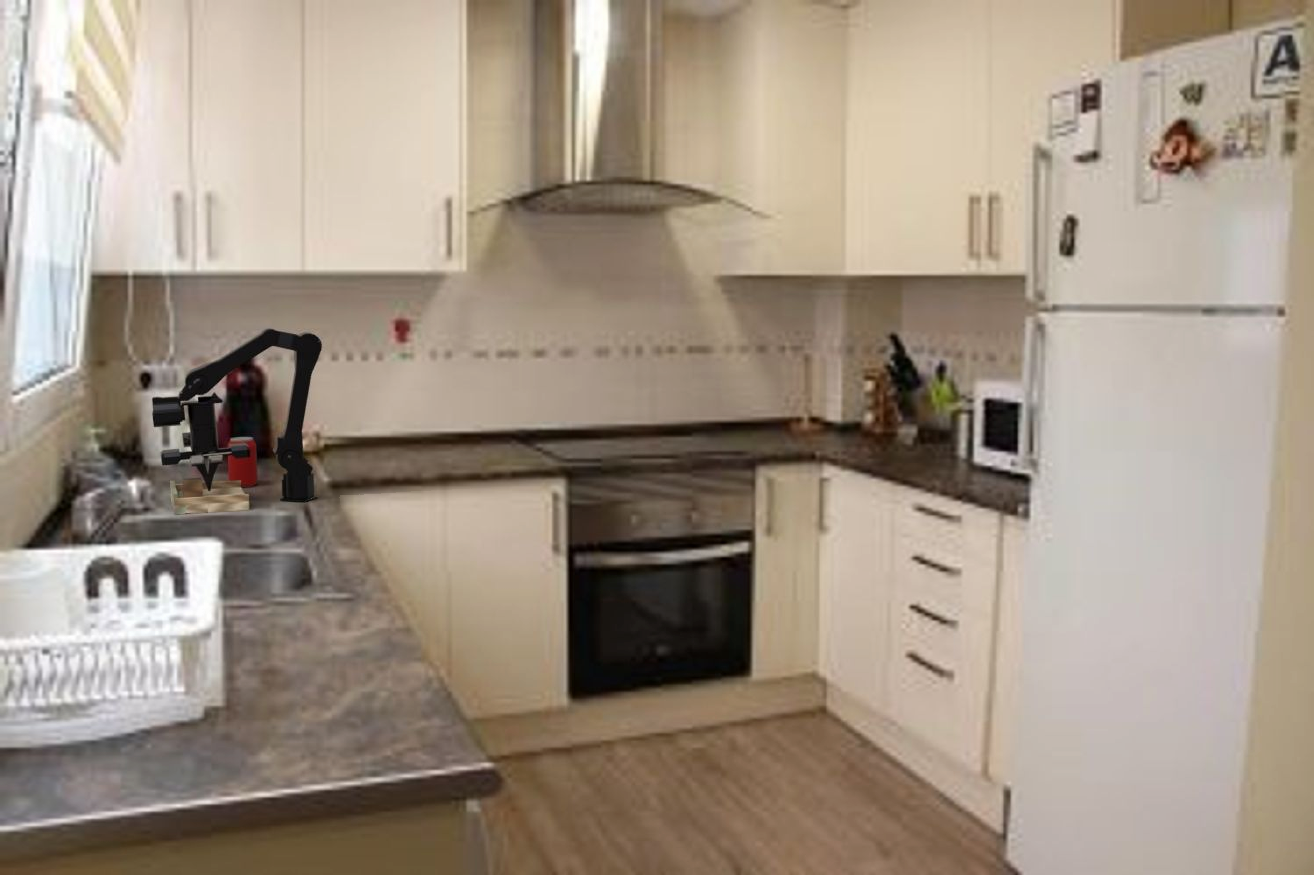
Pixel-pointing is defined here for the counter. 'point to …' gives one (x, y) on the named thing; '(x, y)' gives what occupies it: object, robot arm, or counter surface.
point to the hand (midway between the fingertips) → (209, 490)
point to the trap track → (210, 498)
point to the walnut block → (192, 487)
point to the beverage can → (243, 464)
